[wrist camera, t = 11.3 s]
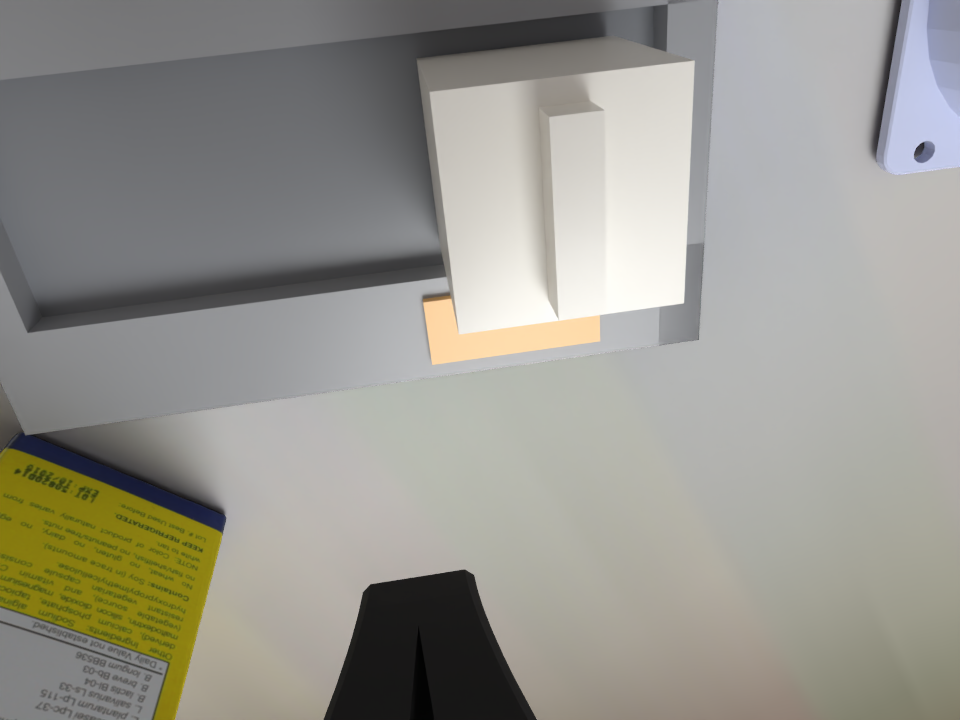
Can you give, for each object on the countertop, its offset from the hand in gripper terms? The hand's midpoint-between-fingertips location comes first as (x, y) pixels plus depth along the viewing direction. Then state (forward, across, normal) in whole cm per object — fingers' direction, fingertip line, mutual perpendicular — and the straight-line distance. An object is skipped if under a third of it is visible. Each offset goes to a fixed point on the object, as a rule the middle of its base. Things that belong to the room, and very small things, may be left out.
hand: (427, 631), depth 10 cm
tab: (+9, -3, -4) cm, 10 cm away
